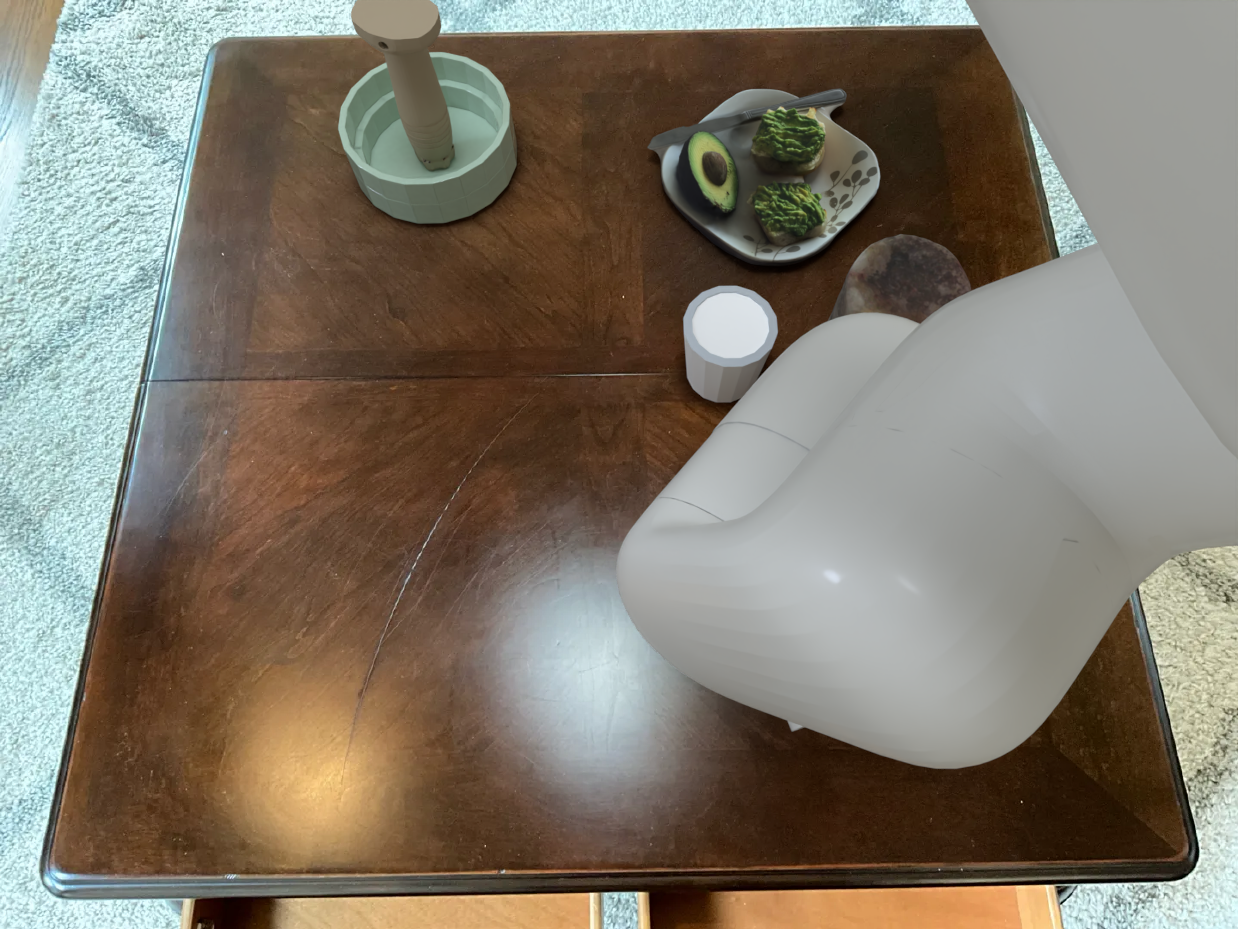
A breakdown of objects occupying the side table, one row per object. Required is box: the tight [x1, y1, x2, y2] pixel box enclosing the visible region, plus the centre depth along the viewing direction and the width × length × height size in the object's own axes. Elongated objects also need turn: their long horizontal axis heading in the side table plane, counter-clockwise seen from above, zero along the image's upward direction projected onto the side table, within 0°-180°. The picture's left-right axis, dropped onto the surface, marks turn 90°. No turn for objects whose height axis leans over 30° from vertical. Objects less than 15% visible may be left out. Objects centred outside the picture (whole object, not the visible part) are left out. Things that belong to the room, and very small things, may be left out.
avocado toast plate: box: [646, 88, 882, 267], centre depth 75 cm, size 19×18×5 cm
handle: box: [350, 0, 455, 171], centre depth 71 cm, size 5×6×15 cm
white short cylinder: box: [682, 285, 779, 403], centre depth 67 cm, size 7×7×7 cm
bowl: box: [337, 51, 518, 225], centre depth 76 cm, size 14×14×6 cm
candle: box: [827, 233, 972, 324], centre depth 58 cm, size 8×7×20 cm
